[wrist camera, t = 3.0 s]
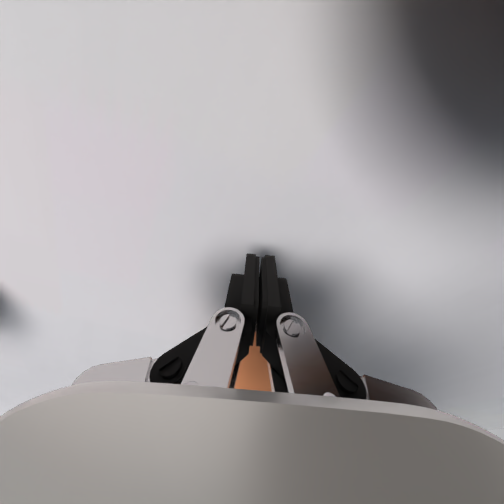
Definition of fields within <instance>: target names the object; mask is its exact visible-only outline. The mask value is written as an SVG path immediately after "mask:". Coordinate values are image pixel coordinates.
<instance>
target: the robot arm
mask: <svg viewBox="0 0 504 504" xmlns="http://www.w3.org/2000/svg"><path fill="white" fill-rule="evenodd" d="M255 328H256V346H260V353H262V356H263V357H264V358H265V359H266V360H267V367H268V372H269V378H270V384H271V390H272V392H271V391H258V390H246V389H235V385H236V381H237V377H238V373H239V368H240V364H241V360H243V359H244V358H245V357H246V356H247V355H248V354H249V347H250V346H253V342H254V335H255ZM0 504H504V440H502V439H500V438H499V437H497V436H496V435H494V434H492V433H490V432H488V431H487V430H485V429H483V428H481V427H479V426H476V425H474V424H472V423H470V422H468V421H466V420H463V419H461V418H458V417H456V416H454V415H451V414H448V413H445V412H442V411H438V410H437V408H436V407H435V406H434V405H433V404H432V403H431V402H430V400H428V399H427V398H426V397H424V396H423V395H422V394H420V393H418V392H416V391H414V390H411V389H408V388H405V387H401V386H398V385H395V384H392V383H389V382H386V381H383V380H379V379H376V378H373V377H370V376H367V375H363V377H362V376H359V375H358V374H357V373H356V372H355V371H354V370H353V369H352V368H350V367H349V366H348V365H347V364H345V363H344V362H343V361H342V360H340V359H339V358H338V357H337V356H335V355H334V354H333V353H332V352H330V351H329V350H328V349H327V348H325V347H324V346H323V345H322V344H320V343H319V342H318V341H317V340H316V339H314V336H313V334H312V332H311V329H310V327H309V325H308V323H307V322H306V320H305V319H304V318H303V317H301V316H300V315H298V314H295V313H293V309H292V304H291V299H290V294H289V289H288V284H287V280H286V278H277V271H276V263H275V256H268V255H265V258H264V257H262V259H261V266H260V274H259V257H256V254H247V257H246V265H245V273H244V275H241V274H232V276H231V280H230V285H229V290H228V294H227V299H226V303H225V308H222V309H220V310H218V311H217V312H215V313H214V315H213V316H212V318H211V320H210V323H209V325H208V327H206V328H204V329H203V330H201V331H200V332H198V333H196V334H195V335H193V336H192V337H190V338H188V339H187V340H185V341H184V342H182V343H180V344H179V345H177V346H176V347H174V348H172V349H171V350H169V351H168V352H166V353H164V354H163V355H162V356H160V357H159V358H157V359H152V358H151V357H147V358H140V359H134V360H127V361H120V362H113V363H107V364H100V365H97V366H93V367H91V368H89V369H88V370H86V371H84V372H83V373H82V374H81V375H80V376H78V377H77V378H76V380H75V381H74V382H73V384H72V385H71V386H68V387H64V388H60V389H57V390H54V391H51V392H48V393H45V394H42V395H40V396H37V397H35V398H32V399H30V400H28V401H26V402H24V403H21V404H19V405H18V406H16V407H14V408H12V409H11V410H9V411H7V412H6V413H4V414H3V415H1V416H0Z"/></svg>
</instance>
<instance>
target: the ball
mask: <svg viewBox="0 0 504 504" xmlns="http://www.w3.org/2000/svg"><path fill="white" fill-rule="evenodd" d="M235 389H246V390H258V391H271V392H272V390H271V384H270V378H269V372H268V367H267V360H266V359H265V358H264V357H263V356H262V353H260V346H256V331H255V335H254V342H253V346H250V347H249V354H248V355H247V356H246V357H245V358H244V359H243V360H241V364H240V368H239V373H238V377H237V381H236V385H235Z"/></svg>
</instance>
